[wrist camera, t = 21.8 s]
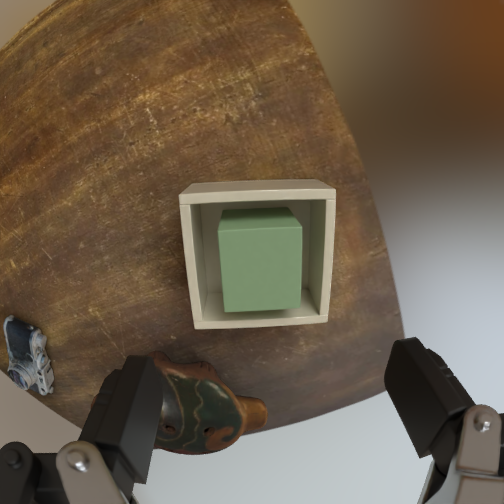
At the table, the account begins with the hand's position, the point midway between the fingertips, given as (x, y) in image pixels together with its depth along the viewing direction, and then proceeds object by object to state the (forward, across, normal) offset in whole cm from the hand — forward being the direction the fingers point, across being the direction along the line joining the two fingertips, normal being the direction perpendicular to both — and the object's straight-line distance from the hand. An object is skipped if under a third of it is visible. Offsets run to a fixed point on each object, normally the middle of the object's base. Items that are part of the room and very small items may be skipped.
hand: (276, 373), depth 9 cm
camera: (+14, +25, +12) cm, 31 cm away
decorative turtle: (+14, +7, +14) cm, 21 cm away
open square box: (+14, 0, 0) cm, 14 cm away
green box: (+13, 0, 0) cm, 13 cm away
